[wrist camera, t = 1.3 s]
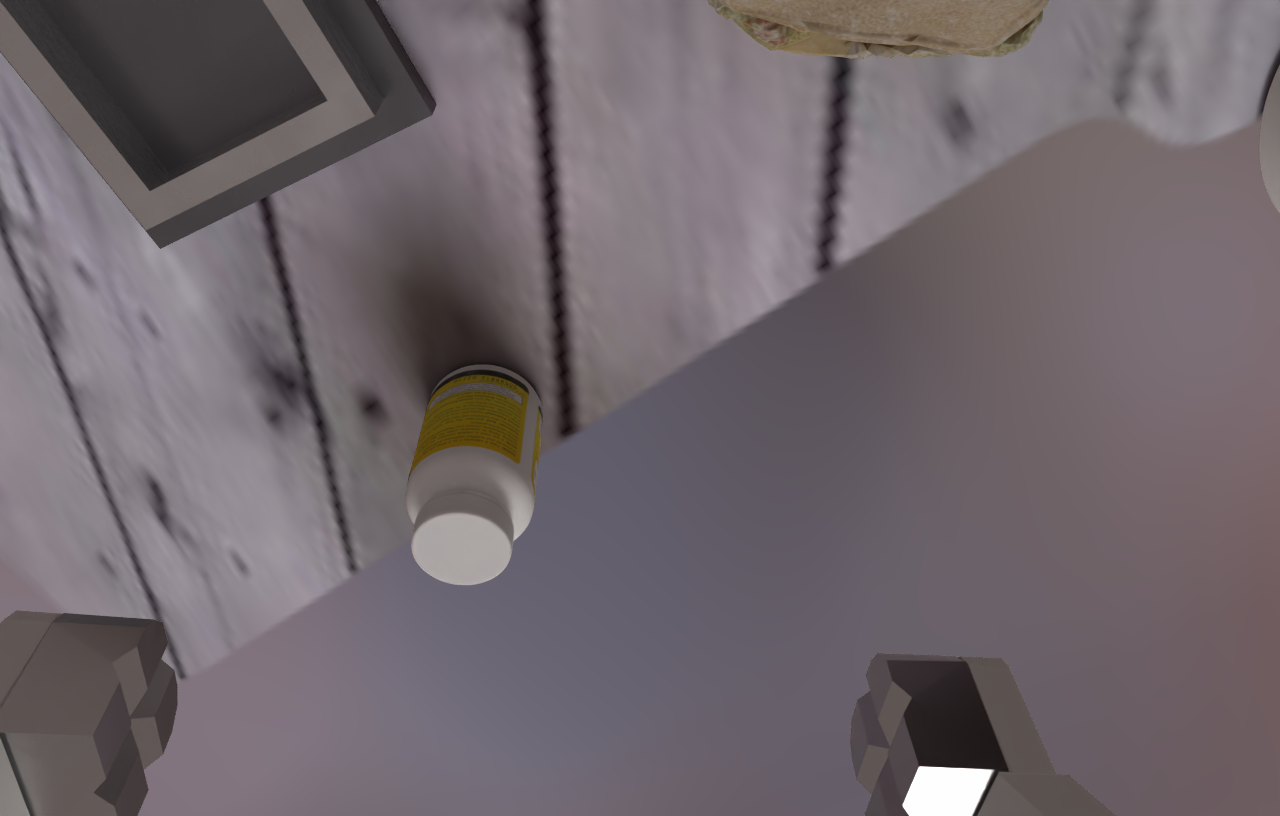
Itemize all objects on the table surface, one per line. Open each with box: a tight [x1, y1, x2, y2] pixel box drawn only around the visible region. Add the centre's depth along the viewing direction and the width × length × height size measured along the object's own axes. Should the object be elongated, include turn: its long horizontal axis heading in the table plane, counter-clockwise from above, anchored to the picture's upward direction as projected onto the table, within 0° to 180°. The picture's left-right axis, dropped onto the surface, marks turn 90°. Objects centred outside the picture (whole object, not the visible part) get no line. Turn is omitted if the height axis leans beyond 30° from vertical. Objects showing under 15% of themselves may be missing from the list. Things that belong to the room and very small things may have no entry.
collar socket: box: [0, 0, 436, 249], centre depth 37 cm, size 13×13×3 cm
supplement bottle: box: [406, 364, 543, 585], centre depth 44 cm, size 5×5×10 cm
